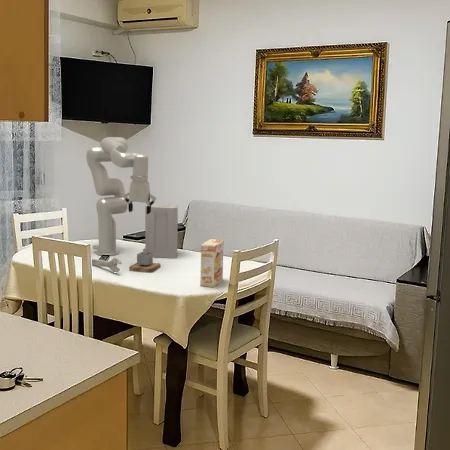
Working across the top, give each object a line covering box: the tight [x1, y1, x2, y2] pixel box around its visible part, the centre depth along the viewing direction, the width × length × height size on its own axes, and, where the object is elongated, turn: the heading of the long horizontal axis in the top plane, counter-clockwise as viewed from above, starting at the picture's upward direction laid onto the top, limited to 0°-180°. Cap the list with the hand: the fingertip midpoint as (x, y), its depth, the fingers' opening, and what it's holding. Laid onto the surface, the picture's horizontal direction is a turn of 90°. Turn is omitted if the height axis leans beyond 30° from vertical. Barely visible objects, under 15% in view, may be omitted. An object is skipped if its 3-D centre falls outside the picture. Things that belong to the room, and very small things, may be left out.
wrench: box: [91, 257, 122, 274], centre depth 296 cm, size 8×2×30 cm
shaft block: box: [128, 247, 161, 274], centre depth 298 cm, size 12×12×10 cm
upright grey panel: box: [144, 202, 179, 260], centre depth 326 cm, size 19×15×28 cm
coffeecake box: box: [199, 238, 225, 288], centre depth 275 cm, size 15×7×20 cm, turn 164°
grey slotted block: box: [136, 251, 154, 265], centre depth 298 cm, size 6×6×5 cm
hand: (139, 212), depth 300 cm, fingers open, 9 cm apart
